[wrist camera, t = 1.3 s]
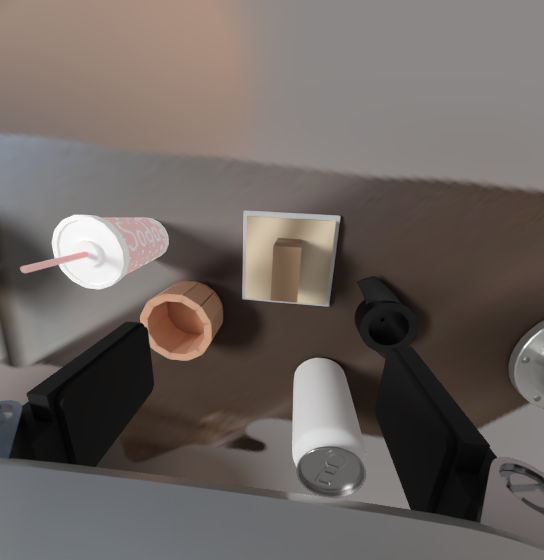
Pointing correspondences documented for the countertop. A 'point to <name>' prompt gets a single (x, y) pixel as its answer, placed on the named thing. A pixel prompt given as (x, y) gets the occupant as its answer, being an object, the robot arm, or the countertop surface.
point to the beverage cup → (103, 248)
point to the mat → (298, 216)
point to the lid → (288, 259)
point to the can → (326, 431)
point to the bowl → (183, 320)
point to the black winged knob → (383, 318)
